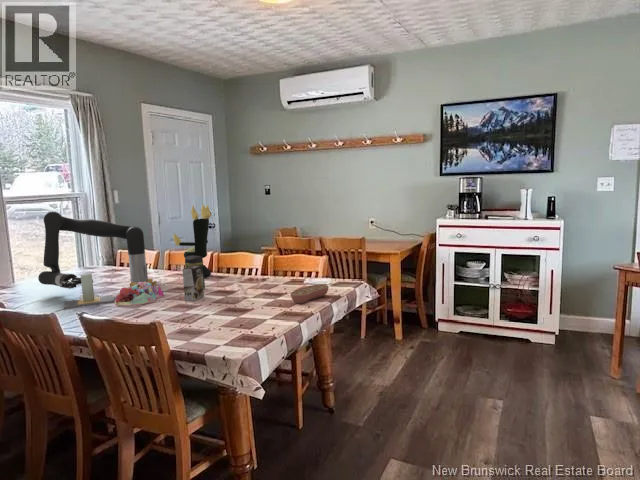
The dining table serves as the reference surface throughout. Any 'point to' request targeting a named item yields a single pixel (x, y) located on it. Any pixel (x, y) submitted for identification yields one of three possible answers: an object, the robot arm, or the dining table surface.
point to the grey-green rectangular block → (87, 287)
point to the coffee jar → (195, 263)
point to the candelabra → (198, 236)
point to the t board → (95, 302)
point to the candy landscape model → (139, 293)
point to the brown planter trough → (309, 293)
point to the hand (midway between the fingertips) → (84, 283)
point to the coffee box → (193, 283)
